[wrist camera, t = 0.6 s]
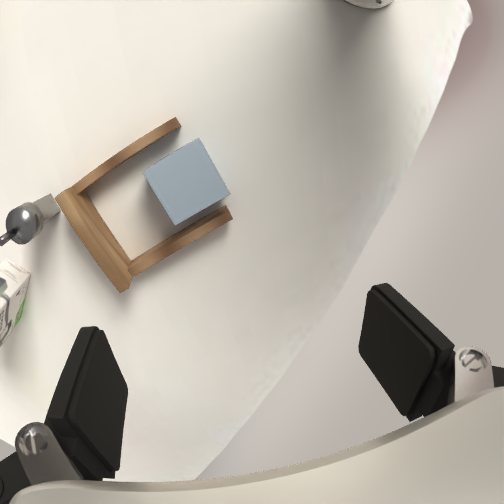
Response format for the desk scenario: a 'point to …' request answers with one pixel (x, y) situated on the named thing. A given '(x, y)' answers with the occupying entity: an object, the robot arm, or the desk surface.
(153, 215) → the desk surface
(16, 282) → the ink box
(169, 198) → the blue-grey cube
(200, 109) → the desk surface
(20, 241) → the winch post
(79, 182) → the bay
